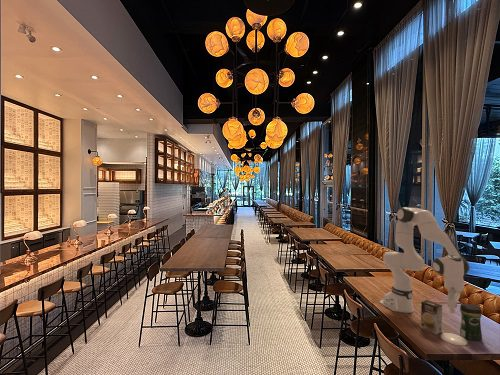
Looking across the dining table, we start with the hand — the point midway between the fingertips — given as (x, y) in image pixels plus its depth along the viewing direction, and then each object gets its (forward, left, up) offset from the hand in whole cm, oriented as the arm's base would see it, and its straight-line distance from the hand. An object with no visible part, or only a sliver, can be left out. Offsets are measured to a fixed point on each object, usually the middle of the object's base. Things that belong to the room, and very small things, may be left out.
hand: (453, 310), depth 160 cm
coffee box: (-12, -1, -17) cm, 21 cm away
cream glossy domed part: (0, 0, -17) cm, 17 cm away
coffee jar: (+2, +12, -17) cm, 21 cm away
